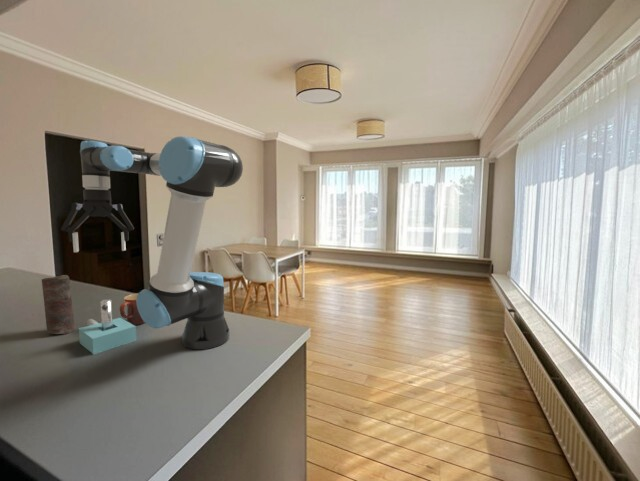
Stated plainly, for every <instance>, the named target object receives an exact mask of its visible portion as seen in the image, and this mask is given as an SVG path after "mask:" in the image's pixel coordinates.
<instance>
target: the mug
mask: <svg viewBox="0 0 640 481" xmlns="http://www.w3.org/2000/svg"><path fill="white" fill-rule="evenodd" d="M138 293H139V292H137V293H131V294H128V295H126V296H124V297H123V300H124V302H123V303H121V304H120V305H119V314H120V316H121V318H122V319H126V321H127V322H129V323H131V324H133V325H134V326H140V325H143V324H146V323H145V322H144V321H143V319H142V318H141V316H140V314H139V312H138V308H137V295H138ZM125 307H126V313H125Z"/></svg>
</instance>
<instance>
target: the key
mask: <svg viewBox="0 0 640 481" xmlns="http://www.w3.org/2000/svg"><path fill="white" fill-rule="evenodd" d="M112 304H113V301H112V299H110V298H109V299H102V300H100V301H99V306H100V323H101V324H102V331H105V330H109V329H112V328H113V319H114V318H113V306H112Z"/></svg>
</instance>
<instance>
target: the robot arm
mask: <svg viewBox="0 0 640 481" xmlns="http://www.w3.org/2000/svg"><path fill="white" fill-rule="evenodd" d="M79 154H80V162H81V174H82V175H81V178H82V187H83V188H84V189H83V190H82V194H83V203H78V202H73V203H71V208H70V211H69V213H68V215H67V217H66V219H65V220H64V222H63V224H62V225H61V227H60V230H61V231H62V232H66V233H68V242H69V243H72V247H73V253H79V251H80V247H79V232H78V231H76V230H77V229H78V228H80V227H81V225H82V224H83V223H84V222H85V221H86V220H87V219H88V218H90V217H94V218H95V217H96V218H97V217H100V218H102V217H103V218H104V217H107V218H109V219H110V220H111V221H112V222H113V223H114V224H115V225H116V226H117V227H118V228H120V230H122V232H120V236H121V240H120V241H121V251H122V252H124V251H127V248H126V245H127V244H126V242H128V241H129V240H130V239H129V238H130V237H129V233H130V231H134V229H135V227H134V225H133V223H132V222H131V220H130V219H129V217H128V216H127V214H126V212H125V211H124V207H123V204H122V203H117V204H113V203H112V194H111V192H112V191H111V190H110V189H111V175H110V174H111V173H110V172H111V171H113V172H121V173H131V174H132V173H134V174H141V175H142V174H143V175H150V176H151V175H153V176H157V177H158V176H161V177H162V179H163V180H164V181H165V182H166V184H165V187H166V188H167V190H168V191H169V192H170V200H169V204H168V205H169V206H168V211H167V217H166V220H165V221H166V222H165V228H164V233H163V239H162V245H161V250H160V256H159V261H158V266H157V271H156V273H155V274H153V275H152V276H150V278H149V284H148V288H147V289H146V288H144V289H142V290H140V291H139V292H137V293H138V295H137V308H138V312H139V314H140V316H141V318H142V319H143V321H144V322H145V323H144V324H146V326H148V327H149V328H152V329H156V330H157V329H162V328H165V327H169V326H171V325H173V324H175V323H178V322H181V321H183V320H186V319H187V320H186V322H185V323H186V324H185V326H184V329H183V333H182V335H181V341H182V342H181V343H182V345H183V347H185V348H188V349H191V350H206V349H208V350H209V349H214V348H216V347H219V346H221V345H224V344H225V343H226V342H228V341H229V339H230V329H229V324H228V323H227V320H226V317H225V285H224V283H225V282H224V276H222V274H220V273H217V272H207V271H194V272H192V268H193V264H194V259H195V254H196V251H197V250H196V248H197V244H198V241H199V240H198V239H199V236H200V230H201V225H202V221H203V216H204V210H205V206H206V202H207V201H208V200H210V199H211V198H213V197H214V193H215V188H228V187H232V186H233V185H235V184H237V182H238V181H239V180H240V178H241V177H242V175H243V171H244V170H243V169H244V168H243V166H244V165H243V162H242V161H243V160H242V159H241V157H240V155H239V154H238V153H237V152H236V151H235V150H234V149H233V148H230V147H228V146H227V145H221V144H217V143H214V142H210V141H205V140H202V139H199V138H195V137H189V136H176V137H172V138H171V139H170V141H169V140H168V141H167V142H166V143H165V144H164V146H163V148H162V149H161V152H147V151H141V150H134V149H131V148H130V149H129V148H126V147H125V146H121V145H115V144H112V145H108V144H107V143H105V142H103V141H96V140H95V141H94V140H82V141H81V143H80V149H79ZM81 209H83V210H84V211H85V212H84V213H83V214H82V215H81V217H79V219H77V221H75V222H74V224H73V225H72V226H71V224H72V222H73V221H74V220H75V218H76V215H77V214H78V211H80V210H81ZM113 209H115V210H116V211H118V214H119V215H120V216H121V218H122V219H123V222H125V224H126V225H125V224H123V223H122V222H121V220H119V219H118V217H116V216H115V214H113V213H112V210H113ZM70 226H71V227H70Z"/></svg>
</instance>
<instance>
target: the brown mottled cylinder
mask: <svg viewBox="0 0 640 481" xmlns="http://www.w3.org/2000/svg"><path fill="white" fill-rule="evenodd" d="M70 280H71V279H70V277H69V275H67V274H63V275H59V276H53V277H45V278H42V279H41V285H42V286H41V287H42V296H43V305H44V314H45V326H46V332H47V333H49V334H53V335H54V334H55V335H67V334H70V333H71V332H73V331H74V330H75V329H76V326H75V324H76V323H75V317H74V308H73V300H72V290H71V281H70Z"/></svg>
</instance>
